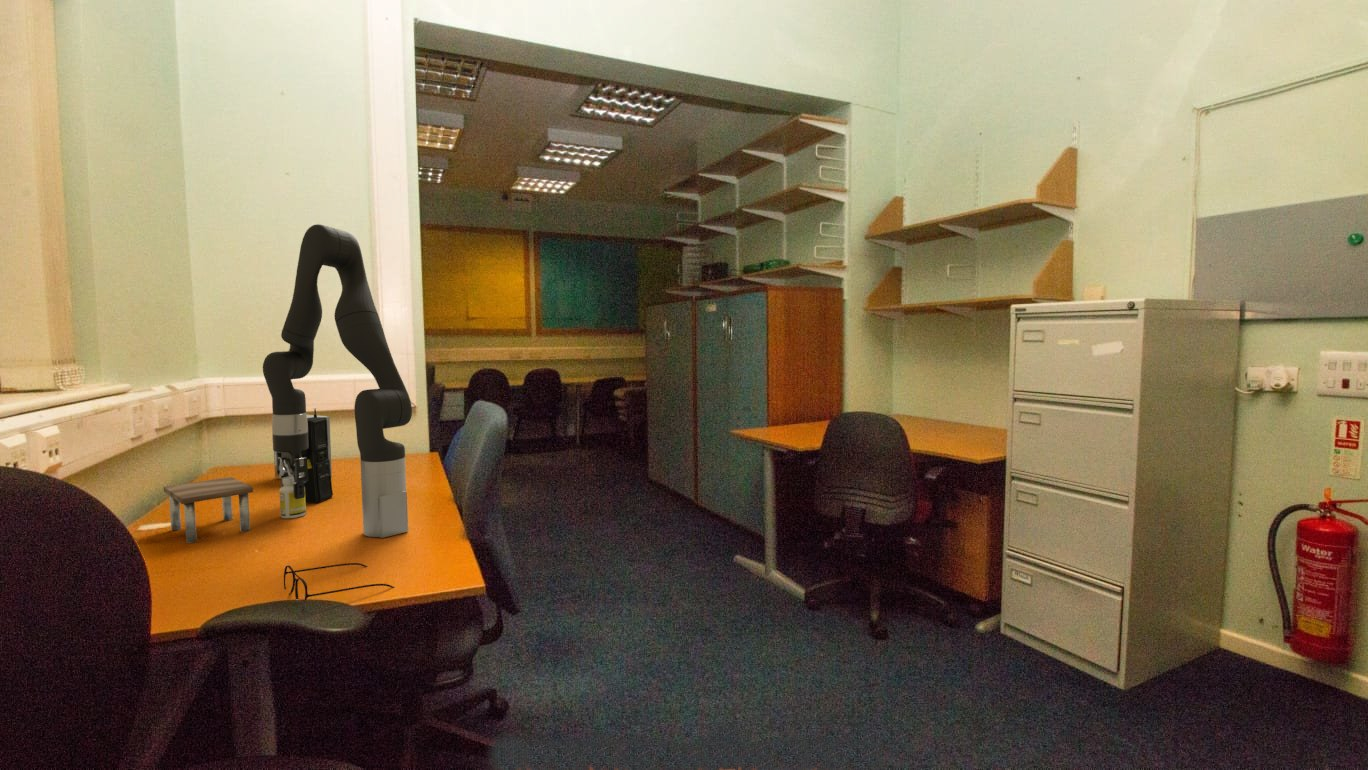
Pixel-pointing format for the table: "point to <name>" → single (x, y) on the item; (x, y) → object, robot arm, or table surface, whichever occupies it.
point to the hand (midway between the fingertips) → (293, 495)
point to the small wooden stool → (206, 492)
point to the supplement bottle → (290, 501)
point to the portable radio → (317, 461)
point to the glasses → (323, 592)
